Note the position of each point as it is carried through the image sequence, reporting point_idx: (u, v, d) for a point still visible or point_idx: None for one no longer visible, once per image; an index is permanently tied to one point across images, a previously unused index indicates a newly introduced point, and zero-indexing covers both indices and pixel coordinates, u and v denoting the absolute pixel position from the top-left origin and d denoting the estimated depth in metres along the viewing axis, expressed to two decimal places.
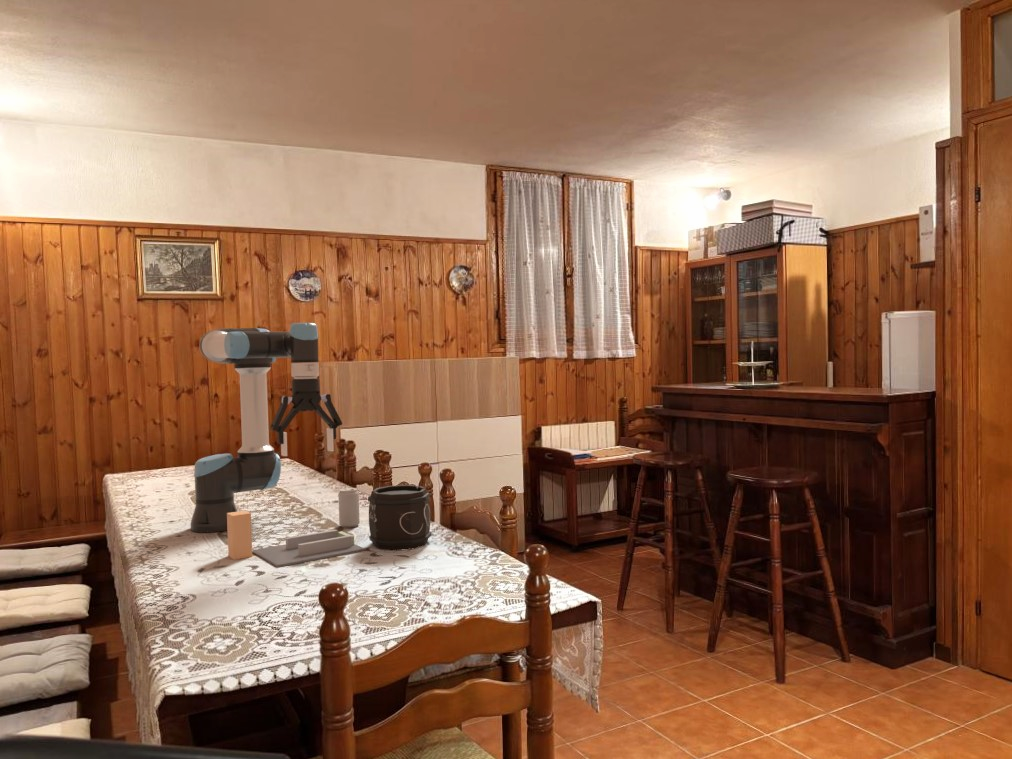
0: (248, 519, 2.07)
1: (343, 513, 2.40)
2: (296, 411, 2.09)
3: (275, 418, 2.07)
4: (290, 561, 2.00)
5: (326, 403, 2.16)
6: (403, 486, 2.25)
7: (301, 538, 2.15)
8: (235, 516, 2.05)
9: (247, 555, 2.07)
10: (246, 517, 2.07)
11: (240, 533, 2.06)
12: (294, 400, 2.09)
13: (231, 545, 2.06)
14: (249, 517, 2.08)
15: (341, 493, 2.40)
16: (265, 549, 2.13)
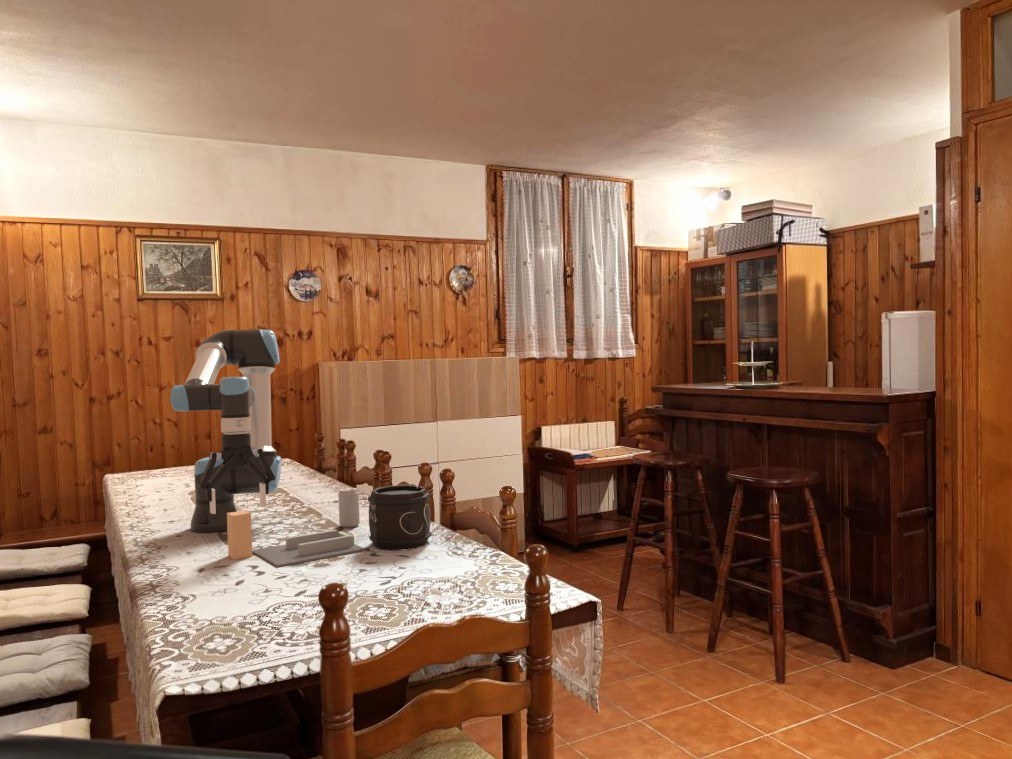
0: (248, 519, 2.07)
1: (343, 513, 2.40)
2: (225, 467, 2.04)
3: (203, 475, 2.03)
4: (290, 561, 2.00)
5: (258, 458, 2.11)
6: (403, 486, 2.25)
7: (301, 538, 2.15)
8: (235, 516, 2.05)
9: (247, 555, 2.07)
10: (246, 517, 2.07)
11: (240, 533, 2.06)
12: (223, 456, 2.05)
13: (231, 545, 2.06)
14: (249, 517, 2.08)
15: (341, 493, 2.40)
16: (265, 549, 2.13)
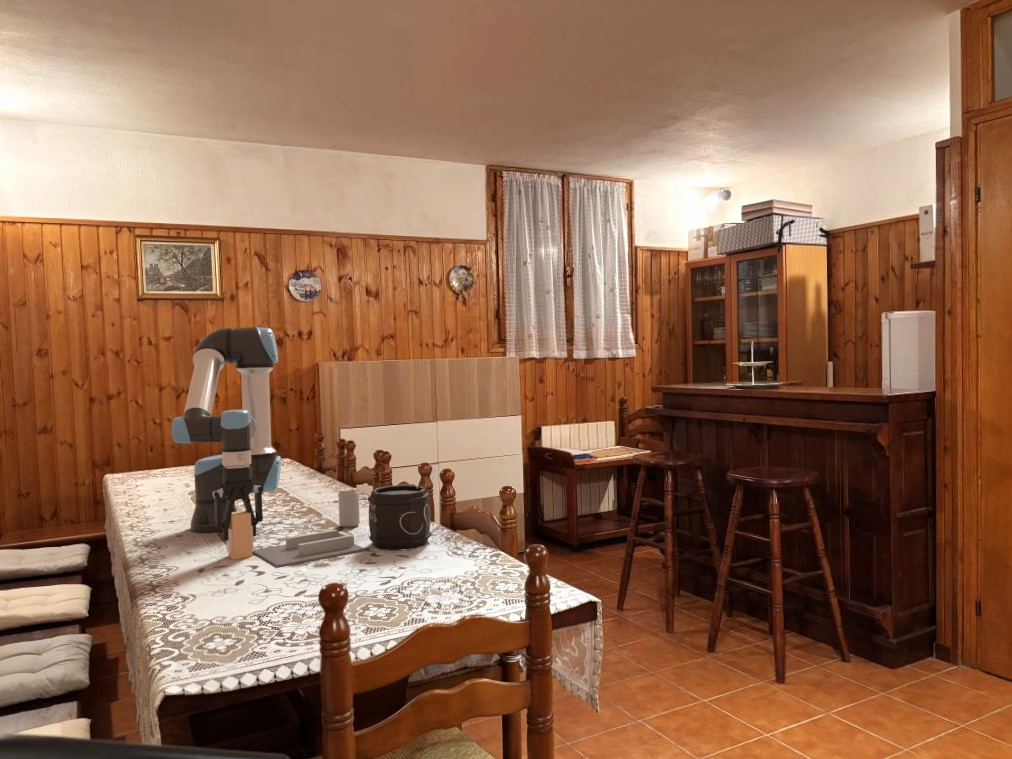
0: (248, 519, 2.07)
1: (343, 513, 2.40)
2: (232, 503, 2.06)
3: (215, 515, 2.05)
4: (290, 561, 2.00)
5: (256, 494, 2.11)
6: (403, 486, 2.25)
7: (301, 538, 2.15)
8: (235, 516, 2.05)
9: (247, 555, 2.07)
10: (246, 517, 2.07)
11: (241, 533, 2.06)
12: (225, 491, 2.05)
13: None
14: (249, 517, 2.08)
15: (341, 493, 2.40)
16: (265, 549, 2.13)
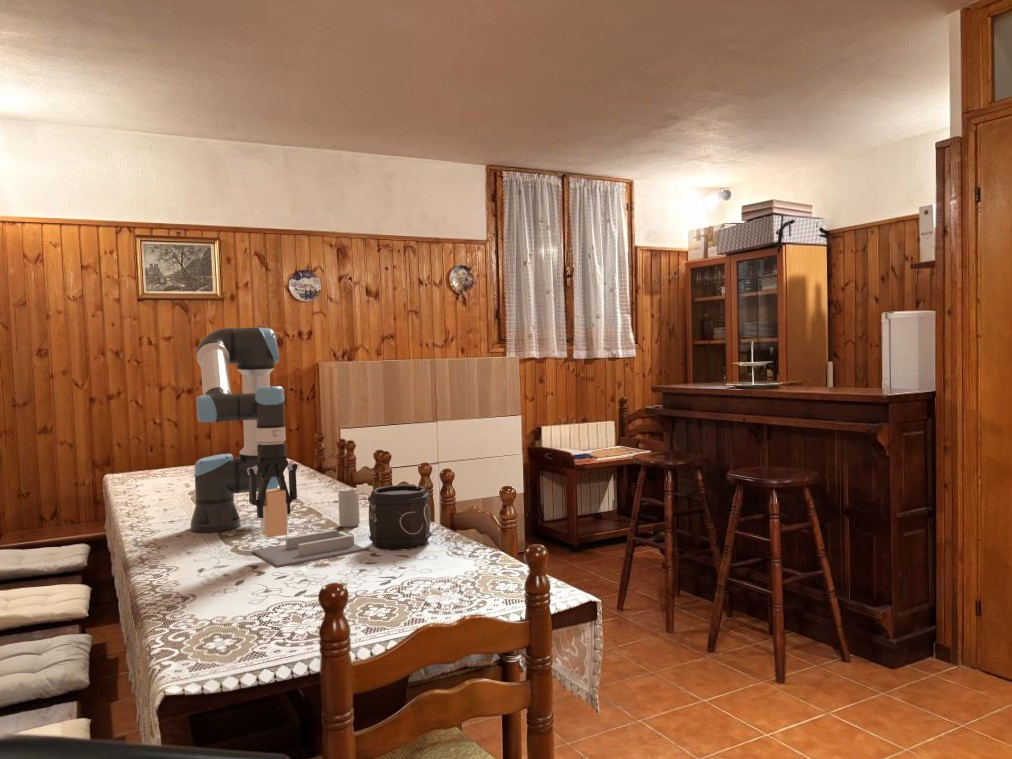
0: (283, 496, 2.05)
1: (343, 513, 2.40)
2: (266, 480, 2.03)
3: (250, 492, 2.02)
4: (290, 561, 2.00)
5: (290, 472, 2.08)
6: (403, 486, 2.25)
7: (301, 538, 2.15)
8: (270, 493, 2.03)
9: (282, 533, 2.05)
10: (281, 494, 2.04)
11: (275, 511, 2.04)
12: (260, 468, 2.03)
13: None
14: (284, 494, 2.05)
15: (341, 493, 2.40)
16: (265, 549, 2.13)
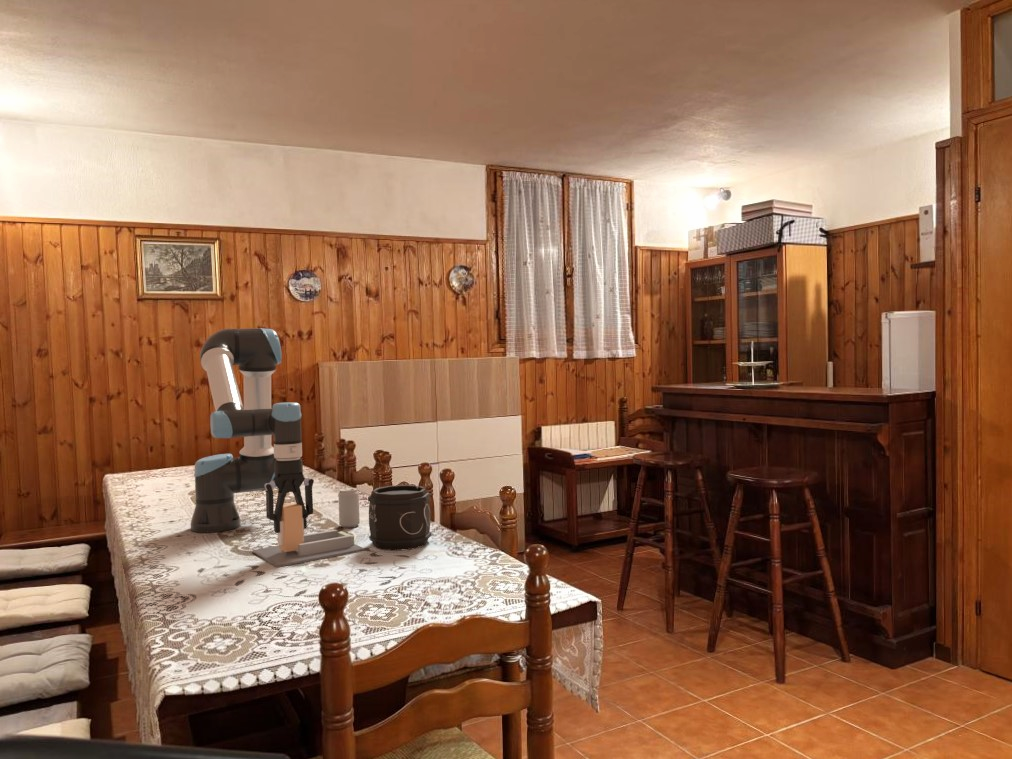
0: (299, 511, 2.08)
1: (343, 513, 2.40)
2: (283, 495, 2.06)
3: (267, 507, 2.05)
4: (290, 561, 2.00)
5: (306, 487, 2.11)
6: (404, 486, 2.25)
7: None
8: (287, 508, 2.06)
9: None
10: (298, 509, 2.07)
11: (292, 526, 2.07)
12: (277, 483, 2.06)
13: None
14: (300, 509, 2.08)
15: (341, 493, 2.40)
16: (265, 549, 2.13)
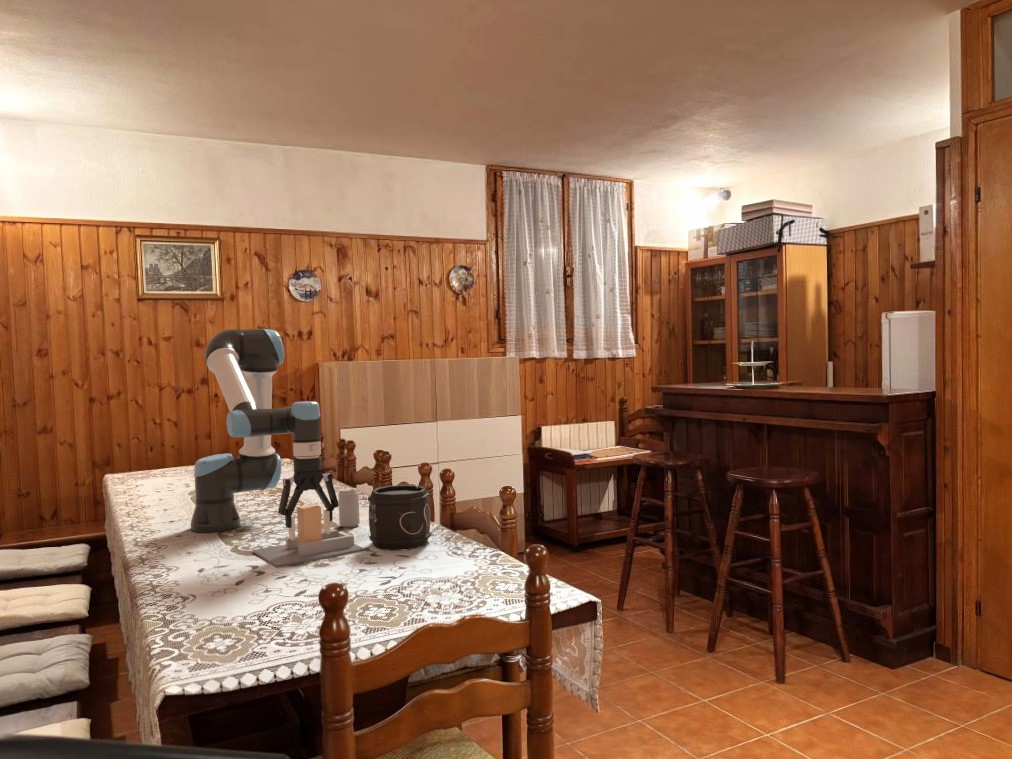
0: (318, 512, 2.11)
1: (343, 513, 2.40)
2: (300, 492, 2.09)
3: (281, 502, 2.07)
4: (290, 561, 2.00)
5: (327, 483, 2.15)
6: (404, 486, 2.25)
7: None
8: (306, 509, 2.09)
9: None
10: (317, 510, 2.11)
11: (311, 526, 2.10)
12: (296, 480, 2.09)
13: (302, 538, 2.10)
14: (319, 510, 2.11)
15: (341, 493, 2.40)
16: (265, 549, 2.13)
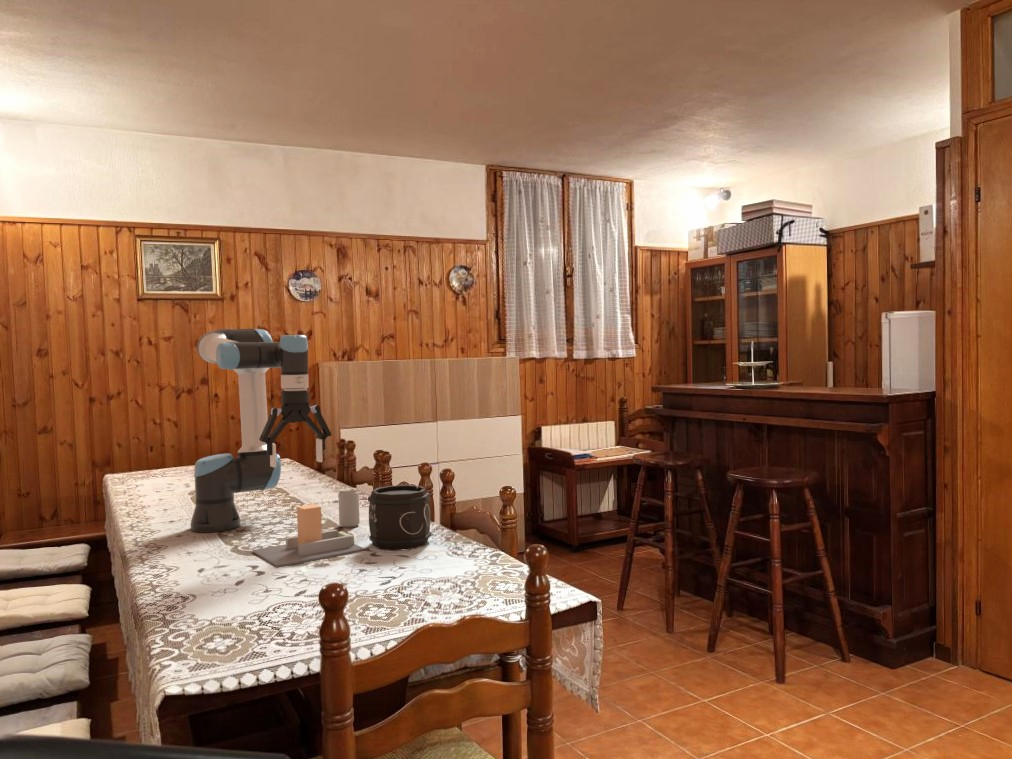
0: (318, 512, 2.11)
1: (343, 513, 2.40)
2: (285, 423, 2.11)
3: (264, 429, 2.09)
4: (290, 561, 2.00)
5: (315, 414, 2.17)
6: (403, 486, 2.25)
7: None
8: (306, 509, 2.09)
9: None
10: (317, 510, 2.11)
11: (311, 526, 2.10)
12: (283, 412, 2.11)
13: (302, 538, 2.10)
14: (319, 510, 2.11)
15: (341, 493, 2.40)
16: (265, 549, 2.13)
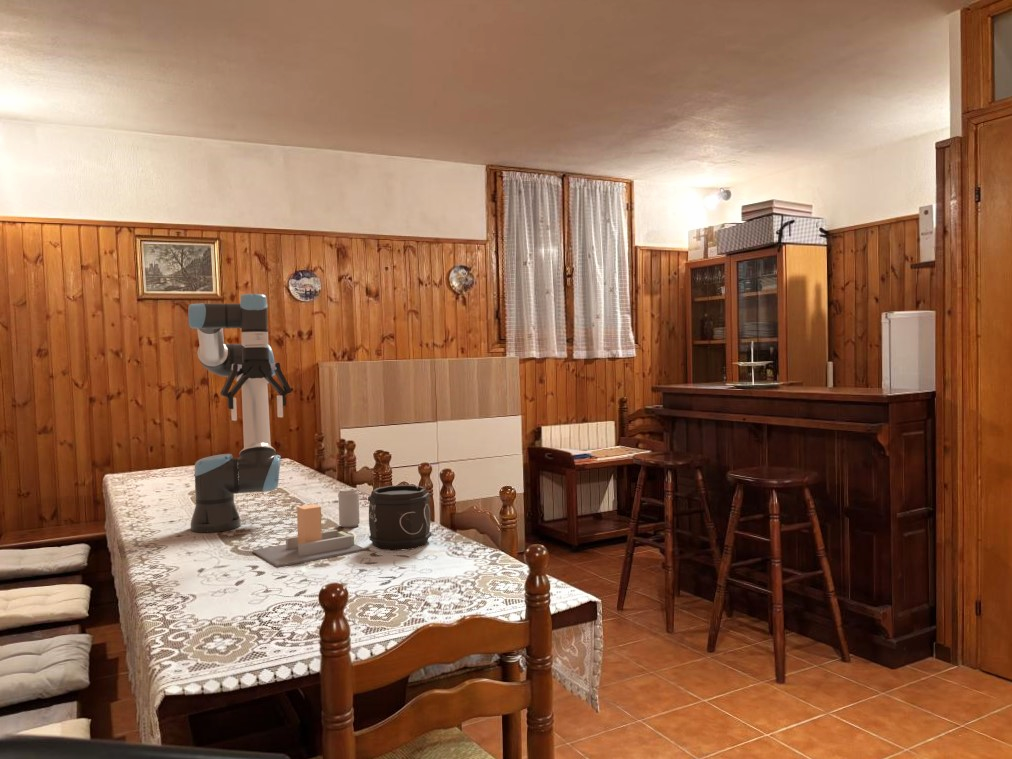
0: (318, 512, 2.11)
1: (343, 513, 2.40)
2: (245, 378, 2.19)
3: (225, 384, 2.18)
4: (290, 561, 2.00)
5: (276, 371, 2.26)
6: (404, 486, 2.25)
7: None
8: (306, 509, 2.09)
9: None
10: (317, 510, 2.11)
11: (311, 526, 2.10)
12: (244, 367, 2.20)
13: (302, 538, 2.10)
14: (319, 510, 2.11)
15: (341, 493, 2.40)
16: (265, 549, 2.13)
